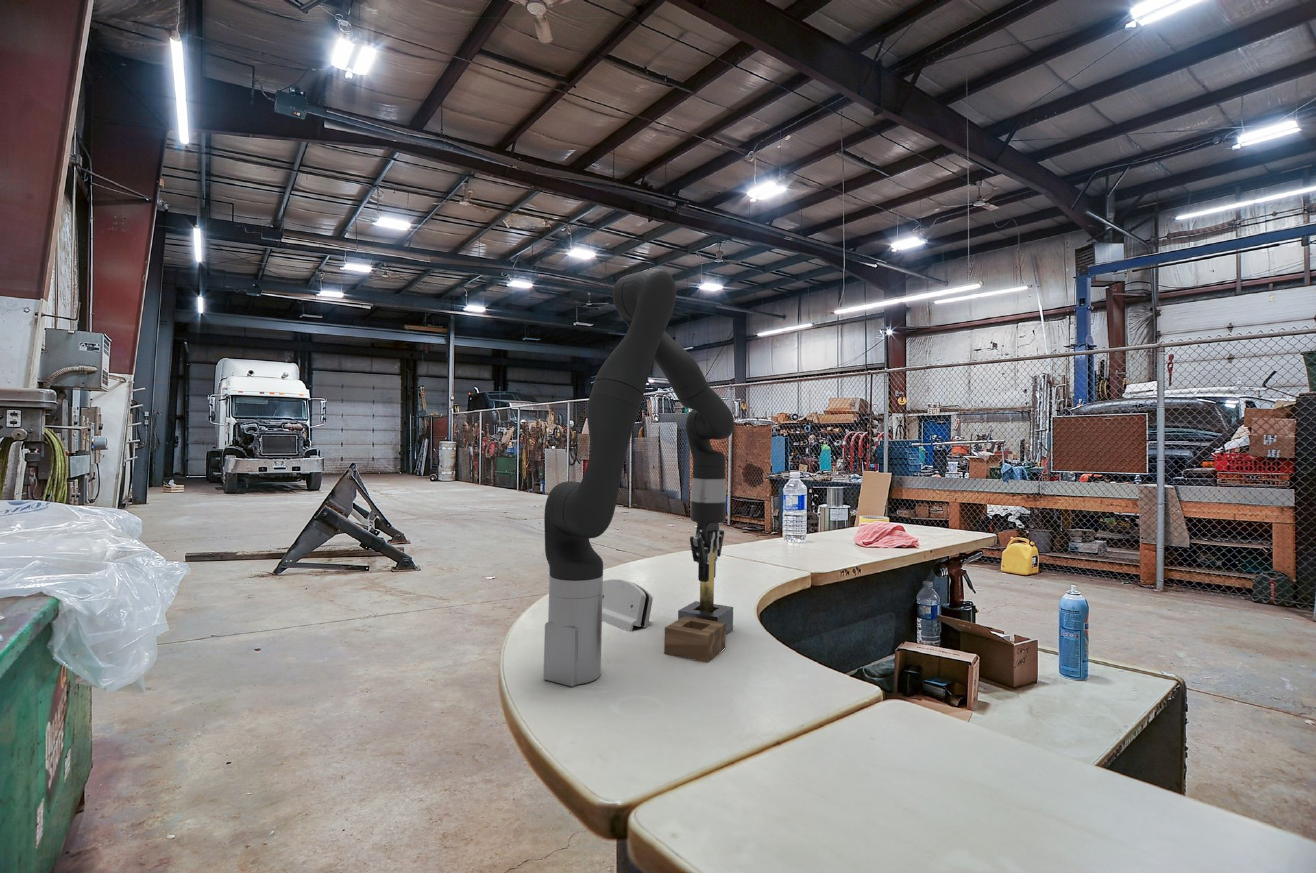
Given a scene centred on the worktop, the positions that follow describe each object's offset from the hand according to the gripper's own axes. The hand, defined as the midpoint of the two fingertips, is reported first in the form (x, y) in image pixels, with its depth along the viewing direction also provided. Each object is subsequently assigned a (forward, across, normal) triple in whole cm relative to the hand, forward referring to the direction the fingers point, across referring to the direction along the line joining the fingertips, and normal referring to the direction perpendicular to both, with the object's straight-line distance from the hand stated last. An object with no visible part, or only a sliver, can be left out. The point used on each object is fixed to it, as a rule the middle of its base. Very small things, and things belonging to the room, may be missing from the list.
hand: (706, 579), depth 129 cm
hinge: (+12, -2, +20) cm, 23 cm away
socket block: (+11, 0, 0) cm, 11 cm away
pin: (+7, 0, 0) cm, 7 cm away
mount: (+11, -12, -3) cm, 17 cm away
